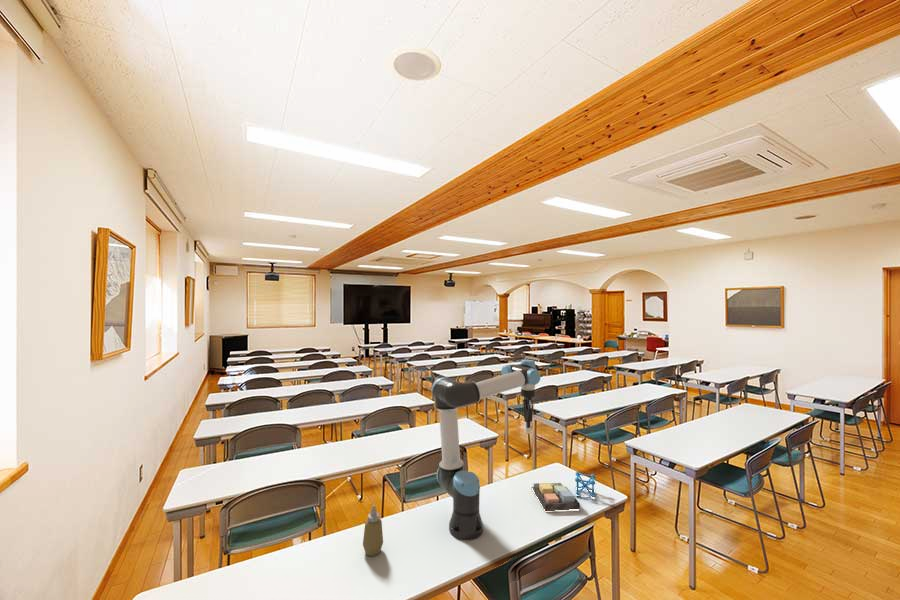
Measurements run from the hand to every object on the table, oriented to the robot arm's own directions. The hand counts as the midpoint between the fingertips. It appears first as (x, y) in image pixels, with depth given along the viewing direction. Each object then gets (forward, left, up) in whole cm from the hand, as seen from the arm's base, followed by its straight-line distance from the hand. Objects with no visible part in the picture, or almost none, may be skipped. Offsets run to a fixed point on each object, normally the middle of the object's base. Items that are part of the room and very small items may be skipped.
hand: (527, 433), depth 194 cm
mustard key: (+8, -5, -28) cm, 30 cm away
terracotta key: (+8, -13, -30) cm, 34 cm away
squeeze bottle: (-75, -43, -32) cm, 92 cm away
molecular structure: (+31, -2, -32) cm, 45 cm away
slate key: (+16, -13, -28) cm, 35 cm away
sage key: (+16, -5, -30) cm, 34 cm away
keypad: (+12, -6, -32) cm, 35 cm away
